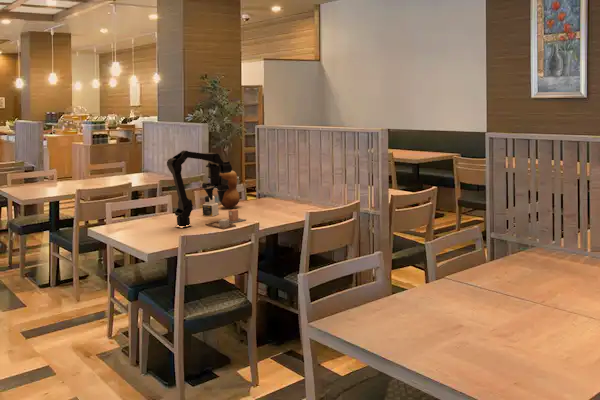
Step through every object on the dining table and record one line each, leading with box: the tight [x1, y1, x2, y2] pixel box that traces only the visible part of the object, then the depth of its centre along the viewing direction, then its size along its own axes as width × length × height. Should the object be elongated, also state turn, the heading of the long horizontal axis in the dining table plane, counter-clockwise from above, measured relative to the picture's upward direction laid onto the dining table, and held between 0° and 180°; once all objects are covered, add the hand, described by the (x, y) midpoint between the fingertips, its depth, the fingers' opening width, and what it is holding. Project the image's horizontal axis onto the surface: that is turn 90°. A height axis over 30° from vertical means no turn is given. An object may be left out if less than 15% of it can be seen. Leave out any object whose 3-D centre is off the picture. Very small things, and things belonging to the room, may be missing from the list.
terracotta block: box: [227, 208, 239, 221], centre depth 350 cm, size 4×4×6 cm
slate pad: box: [227, 217, 247, 224], centre depth 350 cm, size 10×10×1 cm
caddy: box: [205, 220, 237, 230], centre depth 338 cm, size 9×17×1 cm, turn 45°
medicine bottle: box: [201, 195, 220, 217], centre depth 370 cm, size 7×7×12 cm
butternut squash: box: [218, 170, 240, 210], centre depth 390 cm, size 14×13×25 cm
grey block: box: [218, 218, 229, 227], centre depth 336 cm, size 4×4×4 cm
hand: (216, 200), depth 351 cm, fingers open, 9 cm apart
